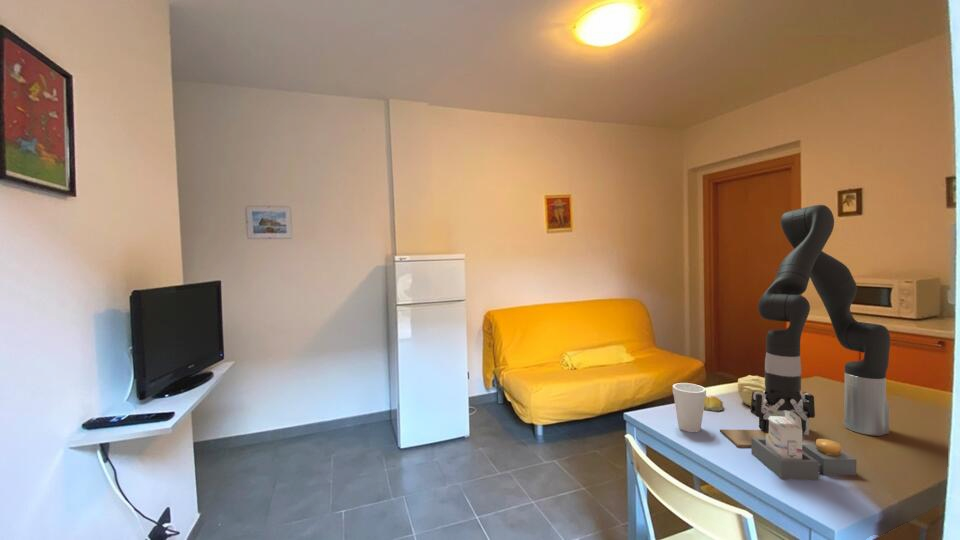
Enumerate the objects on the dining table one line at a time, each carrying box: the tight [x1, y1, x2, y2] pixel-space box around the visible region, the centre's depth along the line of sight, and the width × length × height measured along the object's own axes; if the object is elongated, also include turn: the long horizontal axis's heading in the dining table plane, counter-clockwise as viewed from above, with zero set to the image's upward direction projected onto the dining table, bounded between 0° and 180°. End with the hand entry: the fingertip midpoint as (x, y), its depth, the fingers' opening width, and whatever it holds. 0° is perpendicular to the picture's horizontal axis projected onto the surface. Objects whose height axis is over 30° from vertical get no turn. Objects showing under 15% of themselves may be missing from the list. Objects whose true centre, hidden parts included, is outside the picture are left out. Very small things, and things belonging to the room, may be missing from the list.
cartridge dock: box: [750, 438, 857, 481], centre depth 105 cm, size 19×13×4 cm, turn 85°
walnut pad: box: [719, 429, 766, 449], centre depth 120 cm, size 12×10×1 cm
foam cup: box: [672, 382, 707, 433], centre depth 129 cm, size 10×9×13 cm
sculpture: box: [737, 374, 766, 408], centre depth 146 cm, size 11×12×11 cm
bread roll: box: [703, 395, 724, 412], centre depth 146 cm, size 8×9×4 cm
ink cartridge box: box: [766, 410, 803, 460], centre depth 105 cm, size 9×5×15 cm, turn 168°
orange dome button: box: [815, 438, 842, 455], centre depth 104 cm, size 5×5×6 cm
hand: (782, 432), depth 105 cm, fingers open, 8 cm apart
